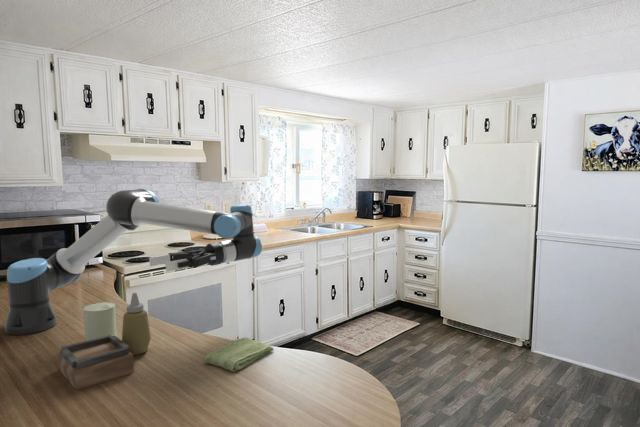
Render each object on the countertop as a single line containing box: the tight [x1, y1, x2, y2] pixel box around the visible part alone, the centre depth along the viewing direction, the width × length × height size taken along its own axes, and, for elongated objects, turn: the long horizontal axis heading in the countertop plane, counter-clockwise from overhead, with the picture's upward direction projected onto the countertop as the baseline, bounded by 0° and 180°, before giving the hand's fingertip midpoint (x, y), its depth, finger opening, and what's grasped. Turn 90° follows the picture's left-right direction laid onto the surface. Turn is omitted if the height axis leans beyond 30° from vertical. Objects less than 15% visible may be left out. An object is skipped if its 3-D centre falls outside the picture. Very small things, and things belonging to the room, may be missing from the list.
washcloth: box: [204, 337, 274, 373], centre depth 125 cm, size 13×18×3 cm
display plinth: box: [57, 335, 135, 391], centre depth 116 cm, size 16×14×6 cm
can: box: [83, 301, 118, 341], centre depth 136 cm, size 9×9×12 cm
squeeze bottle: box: [121, 292, 152, 356], centre depth 128 cm, size 8×8×18 cm
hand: (157, 264), depth 131 cm, fingers open, 13 cm apart
